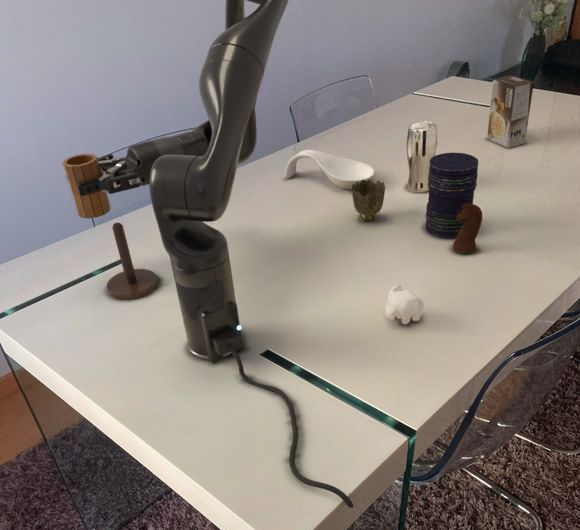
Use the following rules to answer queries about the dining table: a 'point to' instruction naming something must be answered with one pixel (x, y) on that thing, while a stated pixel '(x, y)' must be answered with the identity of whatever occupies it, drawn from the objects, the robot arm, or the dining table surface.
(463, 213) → the chess piece
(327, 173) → the spoon rest
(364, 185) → the cup
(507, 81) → the coffee box
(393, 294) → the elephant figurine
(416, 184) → the beer glass
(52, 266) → the dining table surface
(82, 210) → the wooden stave pot
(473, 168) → the storage jar
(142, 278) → the peg stand
